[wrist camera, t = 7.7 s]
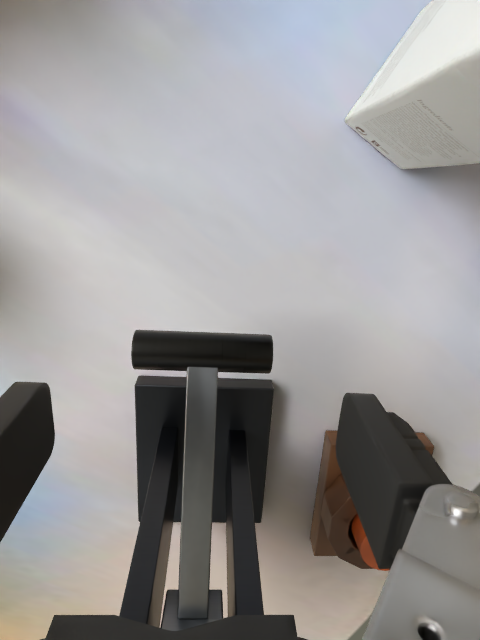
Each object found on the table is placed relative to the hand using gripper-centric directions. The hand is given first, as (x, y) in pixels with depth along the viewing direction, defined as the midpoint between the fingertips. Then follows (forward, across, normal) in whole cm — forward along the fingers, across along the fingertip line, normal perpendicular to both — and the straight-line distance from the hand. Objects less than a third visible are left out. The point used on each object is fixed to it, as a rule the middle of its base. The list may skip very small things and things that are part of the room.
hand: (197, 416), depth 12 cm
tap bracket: (+12, 0, +10) cm, 16 cm away
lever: (+3, 0, +6) cm, 7 cm away
